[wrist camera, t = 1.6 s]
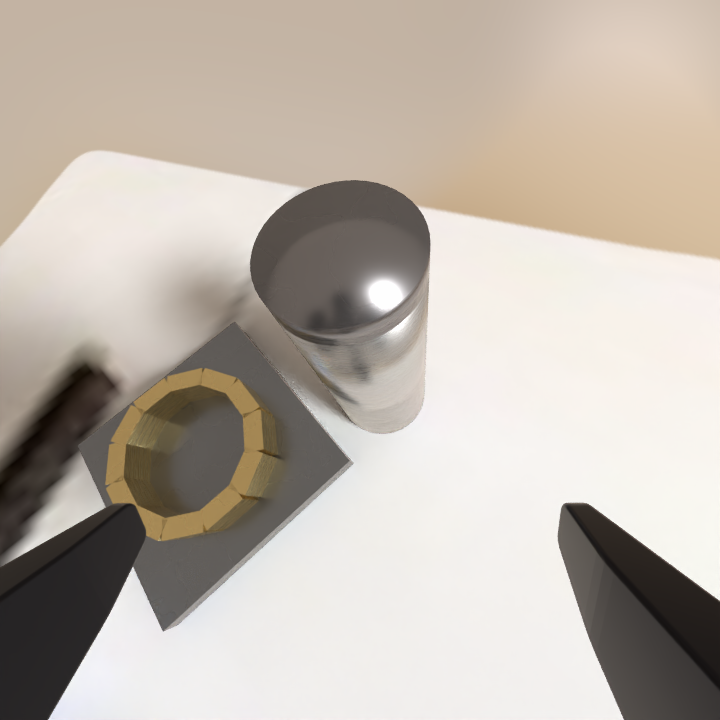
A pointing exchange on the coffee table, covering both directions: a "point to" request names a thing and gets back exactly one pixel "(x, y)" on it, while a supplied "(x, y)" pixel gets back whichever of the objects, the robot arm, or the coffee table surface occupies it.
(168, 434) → the plate with tan ring
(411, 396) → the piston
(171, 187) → the coffee table surface
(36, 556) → the robot arm
